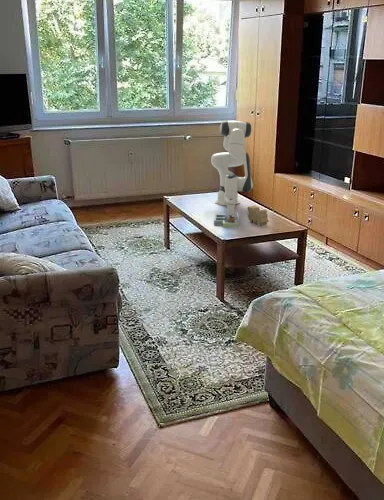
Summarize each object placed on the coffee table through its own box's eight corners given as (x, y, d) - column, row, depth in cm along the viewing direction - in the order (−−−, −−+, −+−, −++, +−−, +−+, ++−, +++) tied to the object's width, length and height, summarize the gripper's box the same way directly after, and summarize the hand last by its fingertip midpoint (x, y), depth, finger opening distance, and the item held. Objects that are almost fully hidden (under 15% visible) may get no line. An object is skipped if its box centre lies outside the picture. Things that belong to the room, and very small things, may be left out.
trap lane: (215, 216, 367) (215, 212, 366) (238, 216, 365) (238, 212, 364) (213, 227, 343) (213, 223, 342) (238, 227, 342) (238, 223, 341)
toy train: (261, 226, 343) (262, 212, 340) (247, 220, 357) (247, 206, 354) (268, 225, 345) (269, 211, 342) (253, 219, 360) (254, 205, 356)
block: (227, 223, 351) (227, 216, 349) (234, 223, 351) (234, 216, 349) (227, 225, 346) (227, 218, 345) (234, 225, 346) (234, 218, 344)
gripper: (226, 194, 358) (226, 214, 362) (225, 202, 339) (225, 222, 343) (235, 194, 357) (235, 214, 362) (235, 202, 338) (235, 222, 343)
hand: (230, 218), depth 352 cm, fingers closed
